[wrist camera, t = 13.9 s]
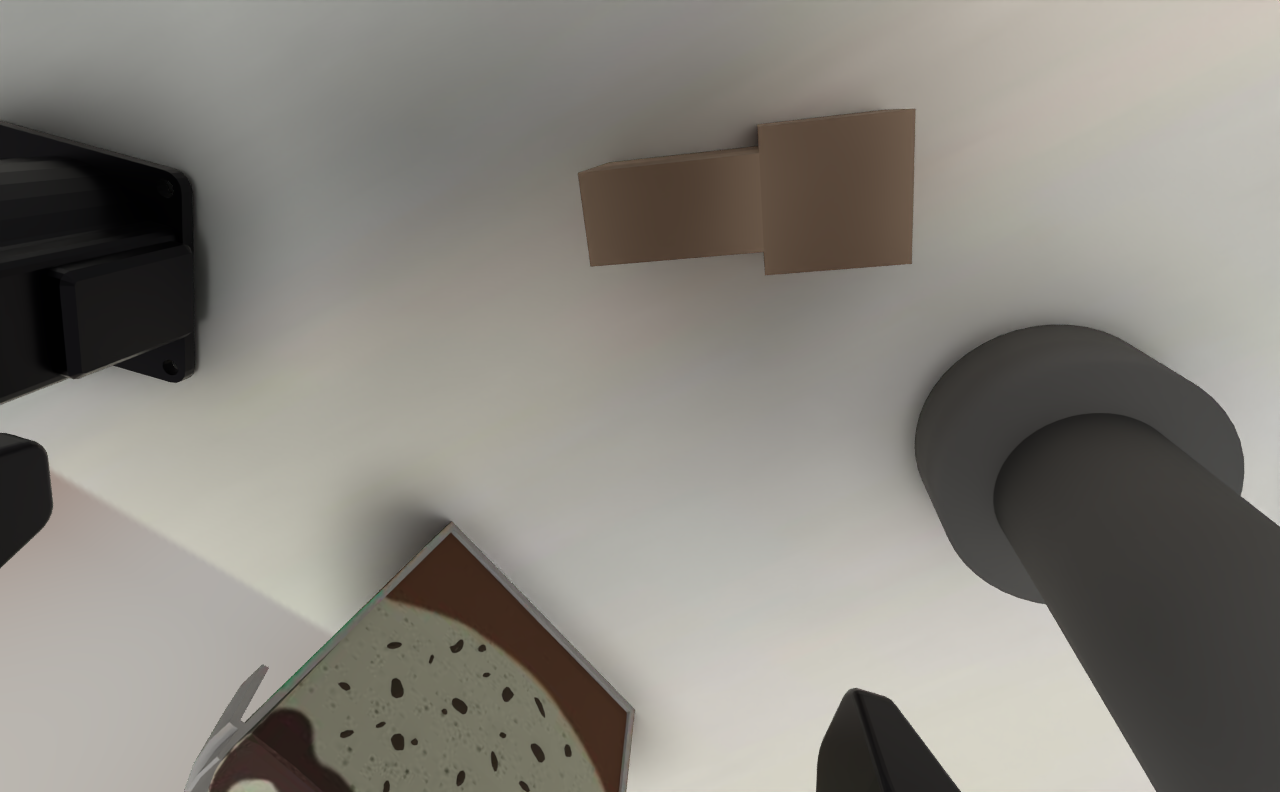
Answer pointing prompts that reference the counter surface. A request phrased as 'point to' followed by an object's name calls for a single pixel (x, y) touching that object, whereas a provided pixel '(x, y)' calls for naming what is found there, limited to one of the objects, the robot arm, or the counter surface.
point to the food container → (430, 698)
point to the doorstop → (1120, 539)
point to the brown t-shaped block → (765, 198)
